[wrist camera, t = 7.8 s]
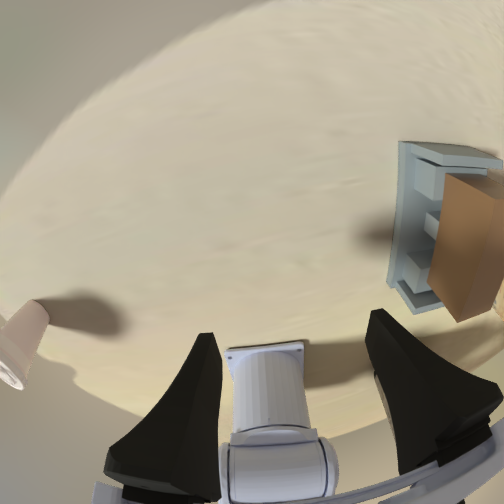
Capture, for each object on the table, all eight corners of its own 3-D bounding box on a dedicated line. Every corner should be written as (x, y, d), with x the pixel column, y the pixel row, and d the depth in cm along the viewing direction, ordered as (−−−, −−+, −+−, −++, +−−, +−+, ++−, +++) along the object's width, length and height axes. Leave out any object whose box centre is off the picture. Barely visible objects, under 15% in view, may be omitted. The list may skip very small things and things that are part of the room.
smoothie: (25, 281, 22) (-40, 372, 10) (65, 318, 24) (13, 419, 12) (15, 306, 24) (-36, 386, 12) (50, 338, 26) (8, 424, 14)
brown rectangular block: (459, 274, 19) (490, 309, 14) (426, 282, 19) (457, 322, 14) (479, 173, 14) (525, 198, 10) (445, 172, 14) (494, 199, 10)
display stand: (449, 269, 22) (474, 297, 18) (386, 281, 23) (408, 316, 19) (468, 146, 16) (506, 160, 12) (398, 140, 17) (437, 154, 12)
